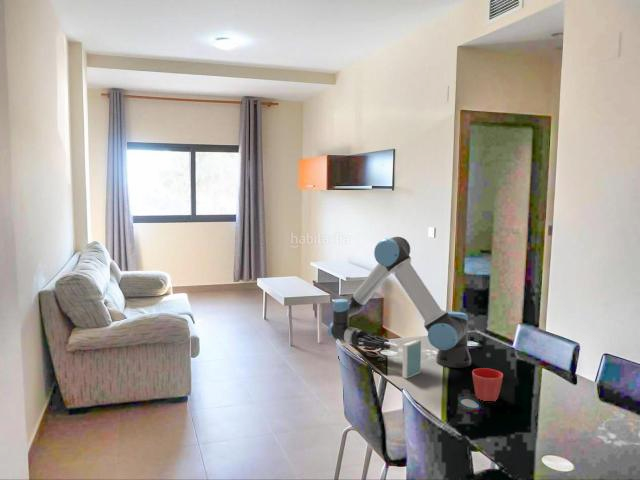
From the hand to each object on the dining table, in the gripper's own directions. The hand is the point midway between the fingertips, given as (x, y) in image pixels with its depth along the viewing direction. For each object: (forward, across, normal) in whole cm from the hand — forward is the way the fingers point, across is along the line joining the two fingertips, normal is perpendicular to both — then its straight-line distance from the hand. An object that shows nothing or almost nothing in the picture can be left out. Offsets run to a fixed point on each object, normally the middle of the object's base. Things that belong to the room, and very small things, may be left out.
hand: (396, 348), depth 218 cm
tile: (+8, 0, -10) cm, 13 cm away
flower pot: (+42, 0, -9) cm, 43 cm away
